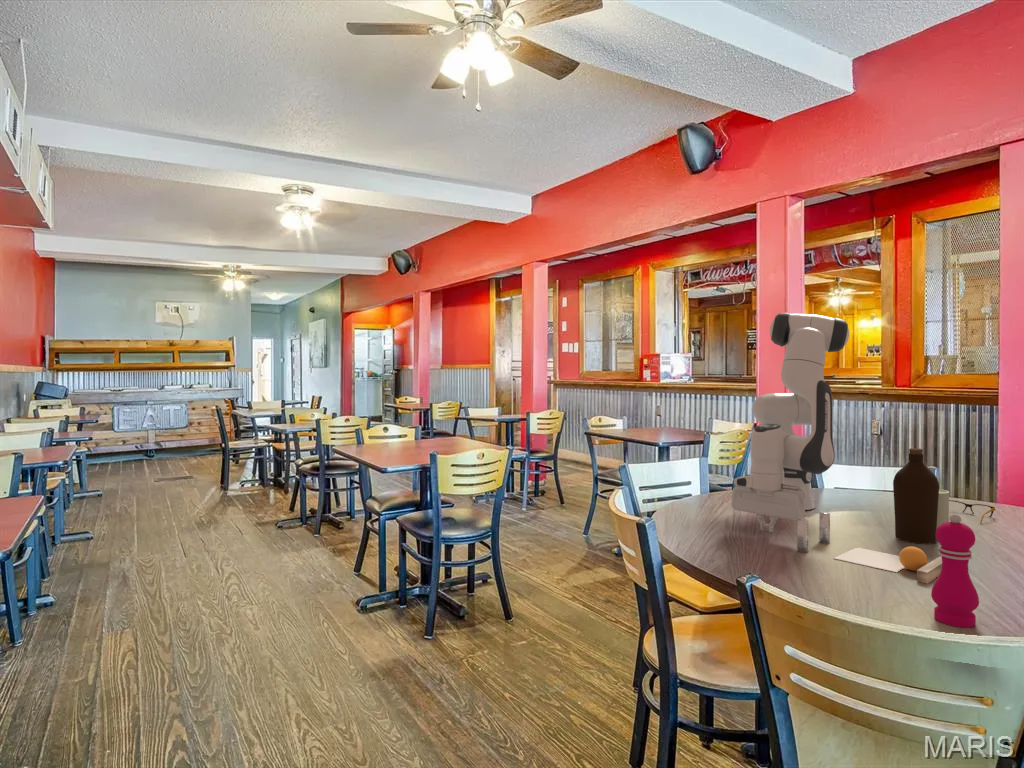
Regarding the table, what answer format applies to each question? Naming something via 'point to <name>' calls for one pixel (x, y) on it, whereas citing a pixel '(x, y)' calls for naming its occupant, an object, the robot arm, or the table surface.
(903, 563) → the ball
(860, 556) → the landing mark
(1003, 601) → the table surface
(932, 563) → the wall
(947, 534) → the pepper mill
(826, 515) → the post
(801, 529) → the post
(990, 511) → the eyeglasses
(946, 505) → the can
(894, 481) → the olive oil
